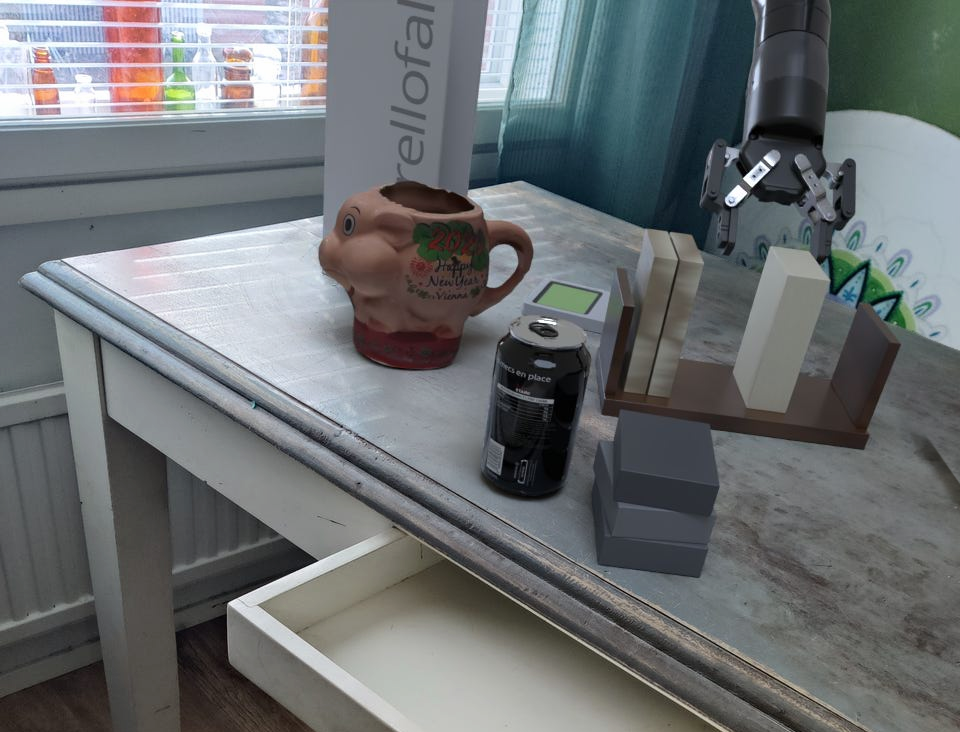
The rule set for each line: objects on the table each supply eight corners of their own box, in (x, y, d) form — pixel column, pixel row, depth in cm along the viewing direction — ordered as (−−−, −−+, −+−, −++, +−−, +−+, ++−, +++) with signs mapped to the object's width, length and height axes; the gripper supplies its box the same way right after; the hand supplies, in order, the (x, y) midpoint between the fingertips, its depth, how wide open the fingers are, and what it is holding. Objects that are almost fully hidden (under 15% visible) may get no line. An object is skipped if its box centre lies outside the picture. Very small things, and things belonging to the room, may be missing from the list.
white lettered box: (321, 272, 107) (329, -63, 89) (354, 263, 111) (368, -61, 93) (425, 312, 102) (456, -36, 83) (456, 301, 106) (492, -35, 87)
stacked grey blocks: (684, 504, 77) (708, 420, 72) (701, 578, 69) (730, 488, 64) (586, 491, 76) (604, 406, 72) (592, 564, 68) (613, 472, 64)
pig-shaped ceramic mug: (489, 321, 102) (508, 178, 94) (541, 370, 94) (567, 218, 85) (300, 329, 94) (302, 173, 86) (339, 383, 86) (346, 217, 77)
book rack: (832, 394, 98) (883, 256, 90) (864, 449, 89) (924, 301, 80) (594, 361, 97) (624, 219, 89) (601, 414, 88) (634, 260, 79)
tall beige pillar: (768, 377, 95) (809, 251, 88) (785, 413, 89) (830, 280, 82) (732, 372, 95) (770, 245, 88) (746, 408, 89) (788, 274, 82)
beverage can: (533, 453, 80) (558, 308, 73) (583, 493, 76) (615, 344, 69) (462, 467, 77) (481, 316, 69) (510, 510, 73) (536, 355, 65)
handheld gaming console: (661, 332, 101) (522, 299, 104) (657, 347, 102) (520, 314, 105) (675, 303, 109) (546, 273, 112) (672, 317, 110) (544, 287, 113)
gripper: (725, 61, 91) (710, 226, 89) (876, 85, 91) (863, 249, 89) (702, 114, 98) (687, 267, 96) (841, 135, 99) (829, 287, 97)
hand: (772, 258), depth 93 cm, fingers open, 8 cm apart
